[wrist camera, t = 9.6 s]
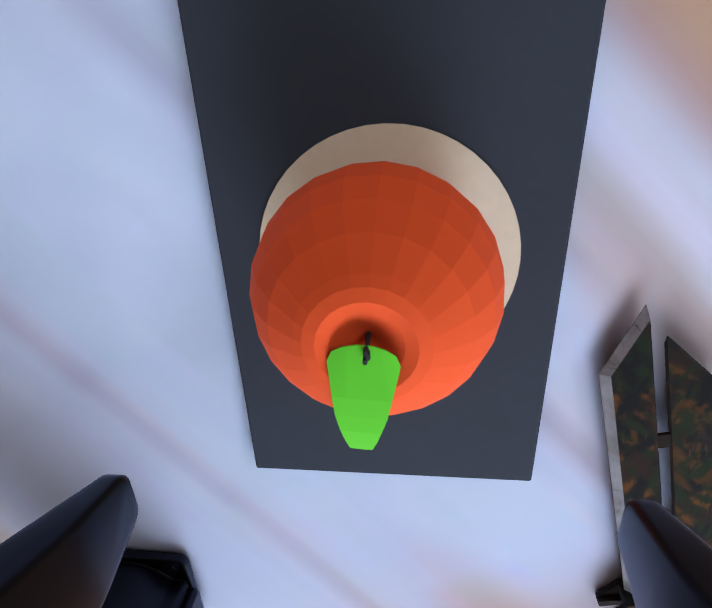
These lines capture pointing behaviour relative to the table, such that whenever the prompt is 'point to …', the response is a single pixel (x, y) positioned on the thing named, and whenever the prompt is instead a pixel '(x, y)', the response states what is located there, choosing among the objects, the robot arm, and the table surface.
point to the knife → (656, 436)
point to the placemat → (409, 147)
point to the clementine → (377, 292)
